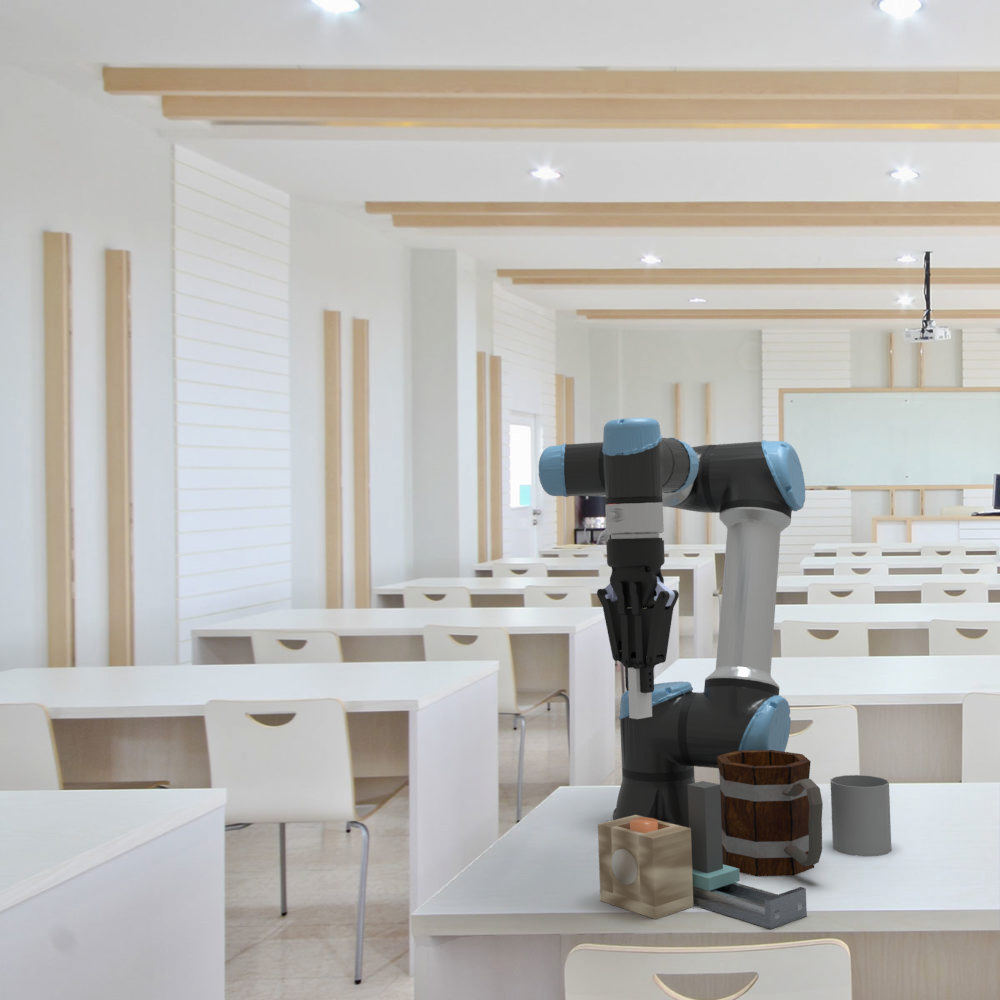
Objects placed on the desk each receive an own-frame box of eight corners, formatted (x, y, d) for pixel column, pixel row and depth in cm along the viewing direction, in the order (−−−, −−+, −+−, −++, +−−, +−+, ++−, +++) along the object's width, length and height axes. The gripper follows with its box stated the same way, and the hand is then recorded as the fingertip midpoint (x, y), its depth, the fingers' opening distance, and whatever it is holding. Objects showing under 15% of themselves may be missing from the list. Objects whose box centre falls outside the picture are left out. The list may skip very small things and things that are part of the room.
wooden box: (598, 901, 154) (595, 824, 154) (638, 889, 158) (635, 814, 158) (653, 919, 146) (650, 839, 146) (693, 906, 150) (691, 828, 151)
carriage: (674, 880, 154) (671, 784, 155) (705, 871, 158) (702, 777, 158) (708, 890, 150) (705, 791, 150) (739, 880, 153) (736, 784, 154)
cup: (894, 857, 170) (891, 787, 170) (835, 855, 171) (833, 786, 172) (887, 841, 178) (884, 775, 178) (831, 840, 180) (828, 774, 180)
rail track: (662, 895, 155) (661, 869, 155) (698, 883, 160) (697, 858, 160) (770, 929, 141) (769, 900, 141) (806, 915, 146) (805, 888, 146)
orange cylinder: (625, 882, 152) (624, 820, 153) (645, 876, 155) (643, 816, 155) (645, 888, 150) (643, 825, 150) (665, 882, 152) (663, 820, 152)
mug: (701, 857, 172) (697, 755, 173) (778, 845, 177) (775, 746, 178) (778, 895, 154) (774, 780, 154) (862, 881, 159) (858, 770, 159)
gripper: (580, 537, 156) (585, 715, 156) (650, 536, 146) (656, 726, 145) (620, 536, 161) (626, 708, 160) (691, 535, 150) (697, 719, 150)
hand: (640, 717), depth 153 cm, fingers closed
